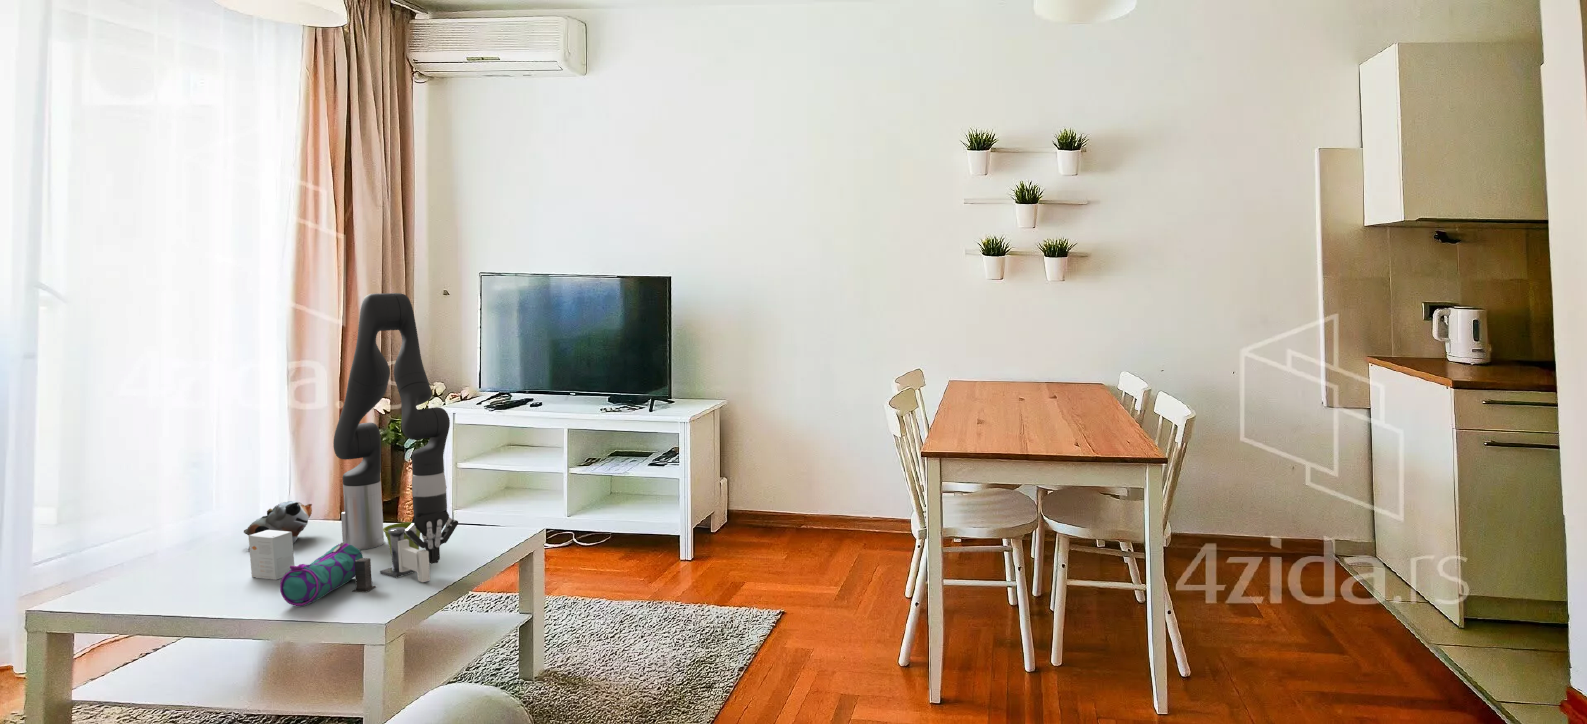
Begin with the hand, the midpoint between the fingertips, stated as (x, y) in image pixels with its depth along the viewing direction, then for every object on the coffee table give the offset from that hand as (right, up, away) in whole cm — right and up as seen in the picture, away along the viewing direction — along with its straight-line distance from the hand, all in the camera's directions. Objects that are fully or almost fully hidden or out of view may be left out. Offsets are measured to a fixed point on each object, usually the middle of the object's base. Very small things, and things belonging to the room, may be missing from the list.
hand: (433, 562), depth 216 cm
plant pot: (-13, -3, +15) cm, 20 cm away
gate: (-4, -3, -1) cm, 5 cm away
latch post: (-13, -4, -8) cm, 16 cm away
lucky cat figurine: (-55, -2, +33) cm, 65 cm away
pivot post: (-10, -3, +4) cm, 11 cm away
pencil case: (-21, -5, -9) cm, 24 cm away
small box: (-40, -4, +3) cm, 41 cm away
